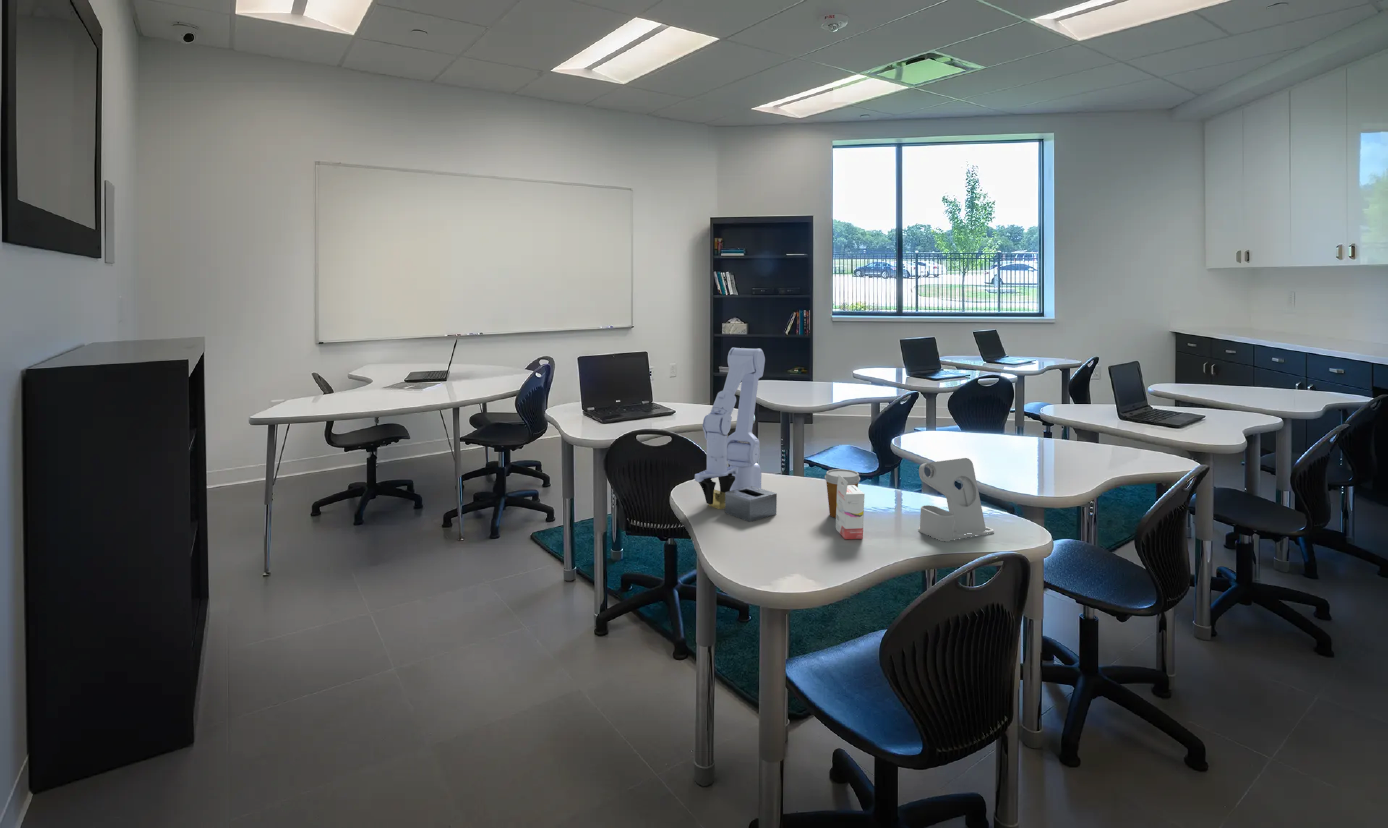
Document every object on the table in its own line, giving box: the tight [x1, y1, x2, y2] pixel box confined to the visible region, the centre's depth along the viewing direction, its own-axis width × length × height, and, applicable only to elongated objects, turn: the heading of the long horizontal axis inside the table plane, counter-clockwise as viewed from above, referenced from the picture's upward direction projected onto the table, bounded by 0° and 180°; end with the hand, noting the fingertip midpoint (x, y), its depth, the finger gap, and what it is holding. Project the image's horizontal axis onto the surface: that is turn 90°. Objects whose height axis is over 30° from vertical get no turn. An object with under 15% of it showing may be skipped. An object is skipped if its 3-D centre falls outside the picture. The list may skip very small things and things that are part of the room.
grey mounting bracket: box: [917, 457, 995, 542], centre depth 181 cm, size 17×10×18 cm, turn 112°
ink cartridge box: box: [835, 475, 865, 540], centre depth 180 cm, size 9×5×15 cm, turn 5°
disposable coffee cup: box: [824, 468, 861, 519], centre depth 194 cm, size 10×10×12 cm
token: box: [708, 488, 725, 510], centre depth 204 cm, size 2×5×4 cm, turn 38°
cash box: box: [724, 486, 778, 523], centre depth 197 cm, size 10×10×6 cm
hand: (716, 501), depth 204 cm, fingers open, 5 cm apart
